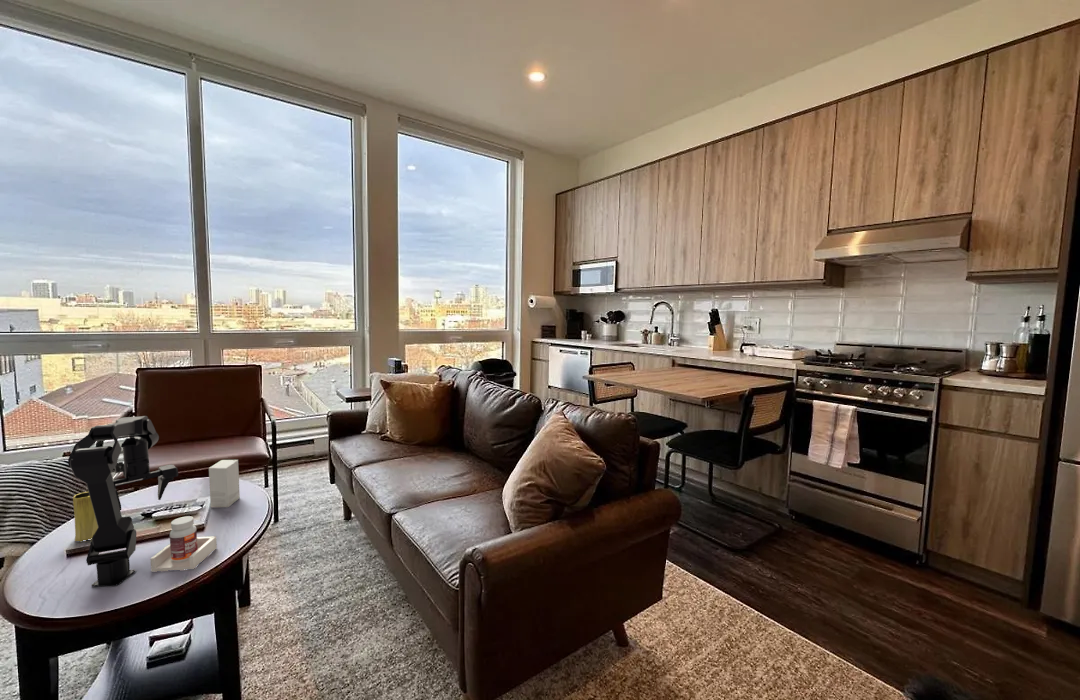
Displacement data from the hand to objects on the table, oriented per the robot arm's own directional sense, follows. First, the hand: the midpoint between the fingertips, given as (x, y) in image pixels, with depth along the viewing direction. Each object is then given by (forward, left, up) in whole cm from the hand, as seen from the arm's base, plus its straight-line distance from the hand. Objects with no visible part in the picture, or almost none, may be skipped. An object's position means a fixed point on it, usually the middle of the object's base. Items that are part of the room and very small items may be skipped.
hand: (140, 504), depth 138 cm
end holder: (-11, -19, -12) cm, 25 cm away
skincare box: (+27, -10, -13) cm, 31 cm away
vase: (+5, +19, -13) cm, 23 cm away
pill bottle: (-12, -19, -12) cm, 25 cm away
